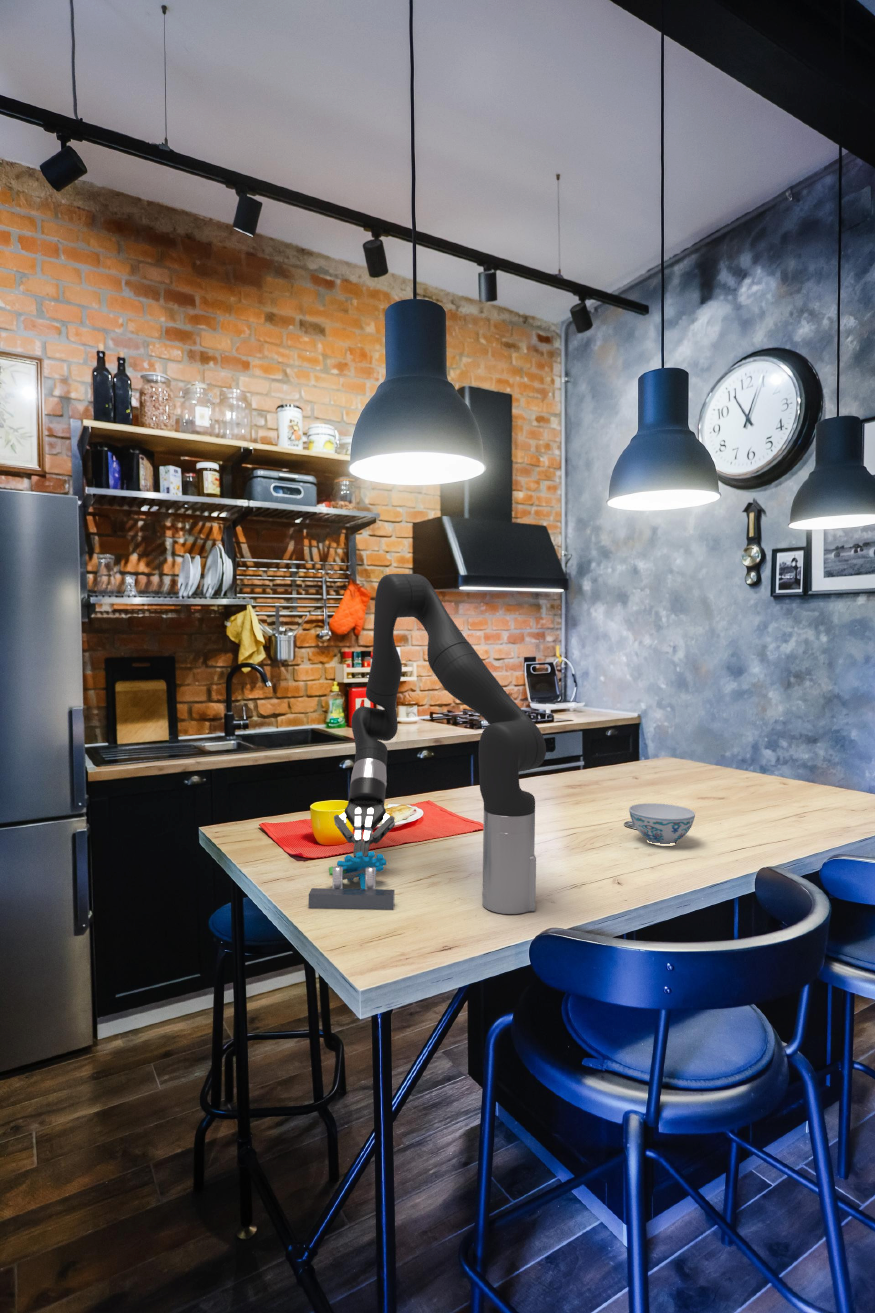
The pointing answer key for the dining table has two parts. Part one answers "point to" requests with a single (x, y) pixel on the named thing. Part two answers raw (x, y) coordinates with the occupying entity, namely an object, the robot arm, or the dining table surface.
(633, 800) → the dining table surface
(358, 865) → the blue bumpy piece
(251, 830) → the dining table surface
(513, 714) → the robot arm
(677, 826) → the chinaware
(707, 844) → the dining table surface
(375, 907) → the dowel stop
